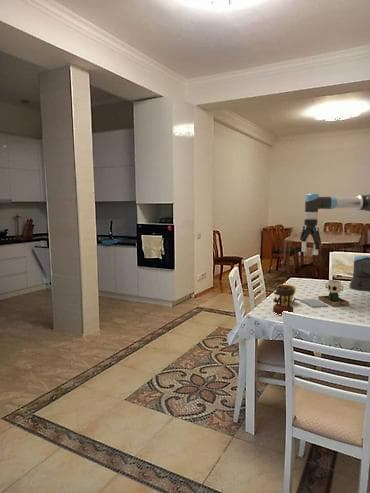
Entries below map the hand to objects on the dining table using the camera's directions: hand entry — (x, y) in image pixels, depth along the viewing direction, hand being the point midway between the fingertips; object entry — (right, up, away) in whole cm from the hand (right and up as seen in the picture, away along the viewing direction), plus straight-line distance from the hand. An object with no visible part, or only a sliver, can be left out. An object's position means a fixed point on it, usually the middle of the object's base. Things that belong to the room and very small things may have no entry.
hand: (309, 253), depth 216 cm
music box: (-23, -32, -28) cm, 48 cm away
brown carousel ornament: (-17, -29, -8) cm, 35 cm away
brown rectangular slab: (+11, -29, -8) cm, 32 cm away
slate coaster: (-1, -29, -10) cm, 31 cm away
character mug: (+11, -29, -8) cm, 32 cm away
